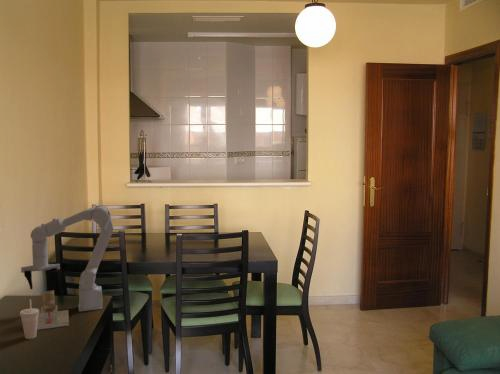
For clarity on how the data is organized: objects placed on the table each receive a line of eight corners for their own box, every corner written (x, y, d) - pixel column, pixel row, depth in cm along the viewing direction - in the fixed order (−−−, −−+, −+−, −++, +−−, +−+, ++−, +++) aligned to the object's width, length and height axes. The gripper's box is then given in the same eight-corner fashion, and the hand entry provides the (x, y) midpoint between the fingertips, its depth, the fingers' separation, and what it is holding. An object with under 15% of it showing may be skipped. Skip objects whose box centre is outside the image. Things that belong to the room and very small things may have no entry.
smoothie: (32, 341, 163) (30, 302, 162) (16, 339, 165) (15, 301, 163) (44, 334, 170) (42, 297, 168) (28, 332, 171) (27, 295, 170)
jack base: (68, 313, 191) (68, 299, 190) (68, 325, 178) (68, 310, 177) (31, 318, 185) (30, 303, 185) (28, 331, 172) (28, 315, 172)
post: (55, 309, 184) (54, 290, 183) (54, 312, 180) (54, 293, 179) (43, 310, 182) (42, 291, 182) (43, 314, 178) (42, 294, 178)
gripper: (19, 259, 184) (21, 292, 185) (59, 256, 189) (60, 288, 190) (21, 255, 190) (22, 287, 192) (59, 252, 196) (60, 283, 197)
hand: (41, 287), depth 191 cm, fingers open, 7 cm apart
